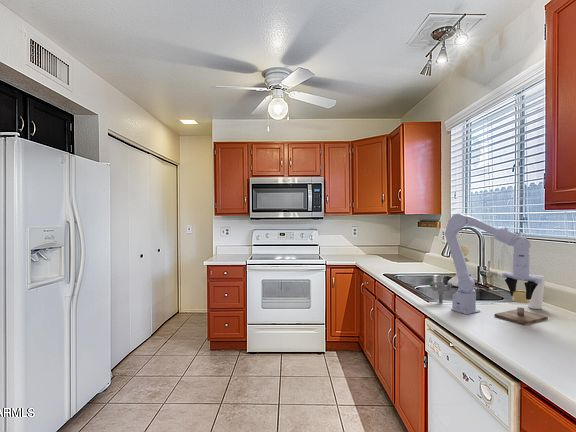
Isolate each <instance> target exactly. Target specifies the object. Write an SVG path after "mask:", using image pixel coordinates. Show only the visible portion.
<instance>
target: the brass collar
mask: <svg viewBox="0 0 576 432" xmlns="http://www.w3.org/2000/svg"><path fill="white" fill-rule="evenodd" d="M511 297H512V298H511V299H512V301H513V302H515V303H520V304H528V303H530V299H529V300H527V299H526V290H521V289H520V290H518V289H516V290H514V291H512V296H511Z"/></svg>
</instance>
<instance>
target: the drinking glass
mask: <svg viewBox="0 0 576 432" xmlns="http://www.w3.org/2000/svg"><path fill="white" fill-rule="evenodd" d="M529 276H532V277H536V278H541V283H540V284H538V285H537V286H536V288H535V290H534V292H533V294H532V297H531V299H530V303H527V306H528V308H529V309H533V310H542V309H543V302H544V301H543V299H544V292H545V276H544V275H541V274H530V273H529ZM525 282H528V281H525Z"/></svg>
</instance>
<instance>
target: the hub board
mask: <svg viewBox="0 0 576 432" xmlns="http://www.w3.org/2000/svg"><path fill="white" fill-rule="evenodd" d="M494 317H495V318H497V319H498V318H499V319H501V320H505V321H509V322H513V323H515V324H519V325H522V326H527V325H531V324H535V323H540V322H542V321H546V320H549V317H548V315H543V314H539V313H535V312H531V311H528V310H525V308H524V307H520V306H519V307H517V308H516V309H512V310H506V311H502V312H497V313H494Z"/></svg>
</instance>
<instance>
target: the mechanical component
mask: <svg viewBox="0 0 576 432" xmlns="http://www.w3.org/2000/svg"><path fill="white" fill-rule="evenodd" d="M429 287H430V289H431V290H432V291H435V292H437V294H438V303H439V304H440V305H441V304H443V299H444V298H443V295H444V292H450V291H451V289H452V287H453V286H452V283H448V282H447V284H445V282H443V281H442V282H441V281H436V282H435V281H434V282H433V281H432V282H430V283H429Z"/></svg>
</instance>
